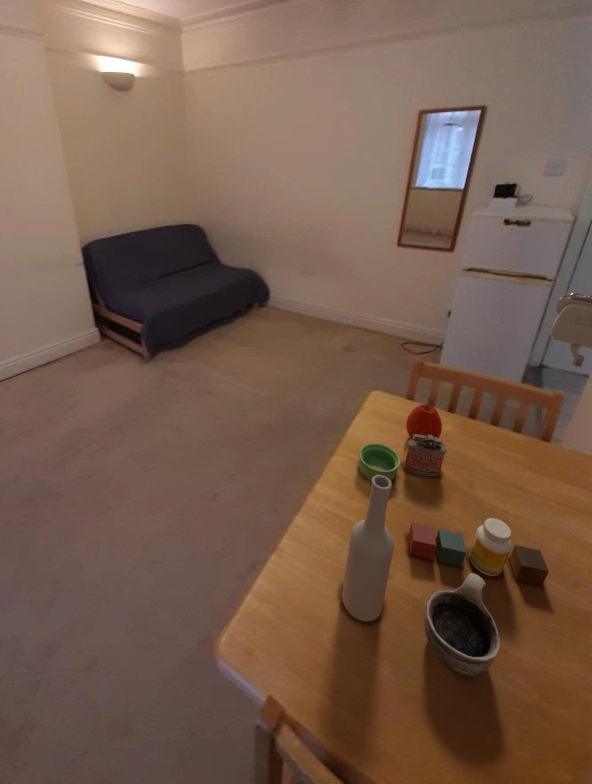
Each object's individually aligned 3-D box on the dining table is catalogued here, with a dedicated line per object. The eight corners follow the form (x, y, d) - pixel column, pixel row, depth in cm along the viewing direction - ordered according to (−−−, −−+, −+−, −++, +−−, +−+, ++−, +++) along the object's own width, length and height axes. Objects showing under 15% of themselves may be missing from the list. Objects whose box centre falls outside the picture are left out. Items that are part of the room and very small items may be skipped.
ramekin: (356, 481, 92) (358, 467, 91) (357, 453, 100) (359, 440, 98) (398, 489, 90) (401, 475, 88) (396, 460, 98) (398, 446, 96)
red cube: (430, 541, 79) (434, 527, 77) (433, 560, 75) (437, 545, 74) (408, 536, 80) (411, 522, 78) (410, 554, 76) (413, 540, 75)
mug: (413, 660, 61) (424, 621, 57) (427, 587, 71) (437, 550, 67) (487, 702, 57) (505, 664, 52) (491, 618, 66) (506, 580, 62)
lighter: (439, 467, 95) (447, 434, 91) (441, 478, 92) (450, 444, 88) (402, 461, 97) (408, 429, 93) (404, 472, 94) (410, 438, 90)
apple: (414, 424, 109) (420, 391, 105) (444, 440, 103) (452, 406, 99) (397, 438, 105) (403, 404, 100) (429, 455, 99) (436, 420, 94)
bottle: (377, 629, 65) (402, 508, 53) (337, 608, 68) (352, 489, 56) (385, 592, 70) (409, 473, 58) (347, 574, 73) (363, 458, 61)
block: (457, 547, 77) (461, 533, 76) (461, 566, 74) (466, 552, 72) (434, 542, 78) (438, 528, 77) (437, 561, 75) (441, 547, 73)
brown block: (534, 564, 74) (540, 550, 72) (542, 586, 70) (549, 571, 69) (509, 558, 75) (514, 544, 73) (515, 579, 71) (521, 565, 70)
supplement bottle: (467, 545, 78) (478, 510, 74) (499, 555, 76) (513, 519, 72) (469, 570, 73) (482, 535, 69) (504, 582, 71) (518, 546, 67)
